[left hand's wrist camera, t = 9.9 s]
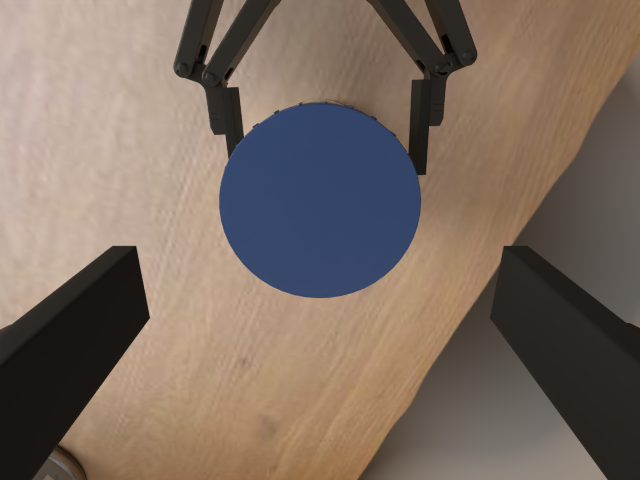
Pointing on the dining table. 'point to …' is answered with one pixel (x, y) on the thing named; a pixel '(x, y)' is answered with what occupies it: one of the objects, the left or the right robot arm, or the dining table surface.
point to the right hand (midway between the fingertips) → (328, 175)
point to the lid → (320, 200)
